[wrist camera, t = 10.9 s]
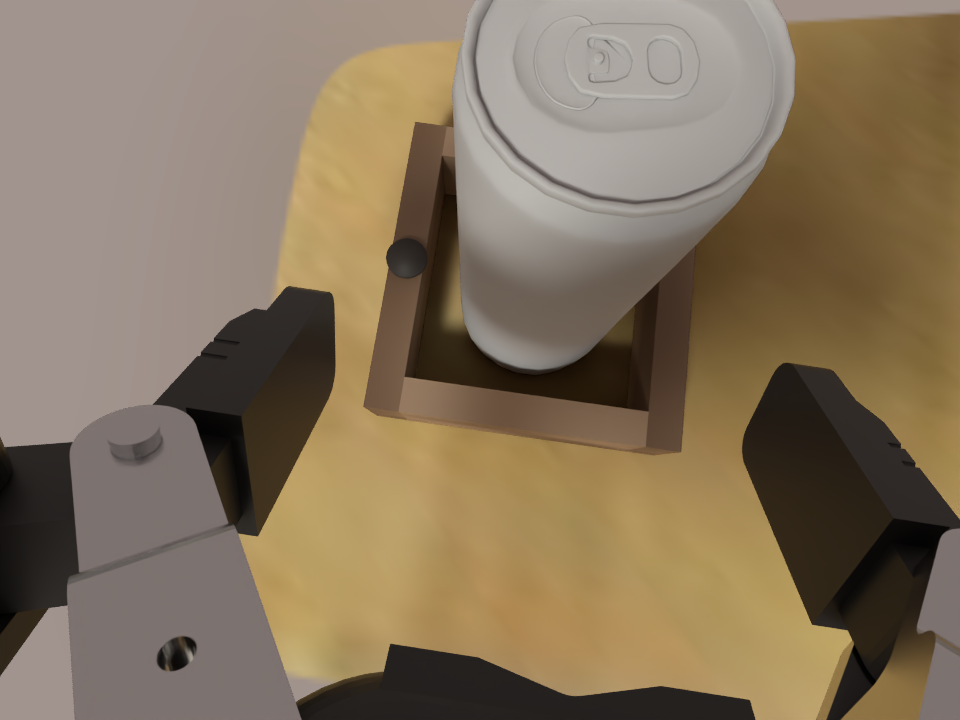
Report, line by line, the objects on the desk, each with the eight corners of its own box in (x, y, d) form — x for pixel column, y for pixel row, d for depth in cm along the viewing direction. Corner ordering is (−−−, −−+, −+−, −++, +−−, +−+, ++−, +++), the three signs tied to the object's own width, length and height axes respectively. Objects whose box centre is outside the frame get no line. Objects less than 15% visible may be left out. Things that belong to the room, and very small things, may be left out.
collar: (673, 199, 20) (703, 158, 18) (653, 454, 19) (683, 451, 16) (418, 163, 20) (411, 118, 18) (374, 415, 19) (359, 405, 16)
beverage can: (462, 240, 20) (453, -97, 8) (601, 242, 20) (789, -90, 8) (460, 377, 19) (447, 219, 7) (606, 379, 19) (826, 225, 7)
